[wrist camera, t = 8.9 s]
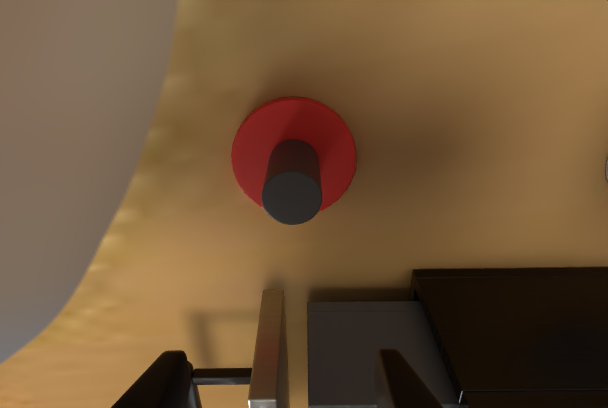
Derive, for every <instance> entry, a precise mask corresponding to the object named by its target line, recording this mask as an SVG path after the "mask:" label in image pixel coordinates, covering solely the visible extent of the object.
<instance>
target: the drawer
mask: <svg viewBox="0 0 608 408" xmlns="http://www.w3.org/2000/svg"><path fill="white" fill-rule="evenodd" d="M307 326H308V408H378V407H377V399H376V391H375V381H374V373H375V364H376V356H377V351H378V350H379V349H381V348H394V349H397V350H398V351H399V352H400V353H401V354H402V356H403V357H404V358H405V359H406V361H407V362H408V363H409V364H410V366H411V367H412V368H413V370H414V371H415V372H416V373H417V375H418V376H419V377H420V378H421V380H422V381H423V382H424V384H425V385H426V386H427V387H428V389H429V390H430V391H431V392H432V394H433V395H434V396H435V397H436V399H437V400H438V401H439V403H440V404H441V405H442V406H443V408H458V407H459V404H460V403H459V402H458V399H457V397H456V394H455V391H454V389H453V386H452V384H451V381H450V378H449V376H448V373H447V371H446V368H445V365H444V363H443V360H442V358H441V355H440V352H439V350H438V347H437V345H436V342H435V339H434V337H433V334H432V332H431V329H430V326H429V324H428V321H427V319H426V316H425V313H424V311H423V308H422V306H421V303H420V301H371V302H308V303H307ZM188 366H189V370H190V375H191V386H190V392H189V397H188V403H187V408H202V405H201V401H200V396H199V392H198V387H197V385H240V384H250V389H249V396H248V403H249V408H290V403H289V382H288V361H287V341H286V320H285V299H284V290H263V295H262V302H261V309H260V316H259V324H258V331H257V338H256V345H255V353H254V360H253V367H252V368H212V369H195V370H194V369H193V366H192V364H191V363H190V362H189V361H188Z"/></svg>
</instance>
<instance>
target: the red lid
mask: <svg viewBox="0 0 608 408" xmlns="http://www.w3.org/2000/svg"><path fill="white" fill-rule="evenodd" d="M232 167H233V171H234V174H235V177H236V180H237V182H238V184H239V185H240V187H241V188H242V190H243V191H244V193H245V194H246V195H247V196H248V197H249V198H250V199H251V200H252V201H253V202H255V203H256V204H257V205H259V206H260V207H262V208H264V209H265V211H266V212H267V213H268V214H269V216H271V217H272V218H273V219H274V220H276V221H278V222H280V223H283V224H288V225H297V224H301V223H304V222H307V221H309V220H310V219H312V218H313V217H314V216H315V215H316V214H317V213H318V212H319V211H321V210H323V209H325V208H327V207H329V206H330V205H332V204H333V203H334V202H336V201H337V200H338V199H339V198H340V197H341V196H342V195H343V194H344V192H345V191H346V190H347V188H348V186H349V185H350V183H351V181H352V178H353V176H354V172H355V168H356V149H355V144H354V141H353V138H352V135H351V133H350V131H349V128H348V127H347V125H346V124H345V122H344V121H343V120H342V119H341V117H340V116H339V115H338V114H337V113H336V112H334V111H333V110H332V109H330V108H329V107H327V106H326V105H324V104H322V103H320V102H318V101H315V100H312V99H308V98H303V97H284V98H279V99H275V100H272V101H269V102H267V103H265V104H263V105H261V106H260V107H258V108H257V109H255V110H254V111H253V112H252V113H251V114H250V115H249V116H248V117H247V118H246V119H245V120H244V122H243V123H242V125H241V126H240V128H239V130H238V132H237V134H236V137H235V139H234V143H233V147H232Z"/></svg>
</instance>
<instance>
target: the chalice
mask: <svg viewBox="0 0 608 408" xmlns="http://www.w3.org/2000/svg"><path fill="white" fill-rule="evenodd" d="M606 177H607V180H608V159H607V164H606Z"/></svg>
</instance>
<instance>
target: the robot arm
mask: <svg viewBox="0 0 608 408" xmlns="http://www.w3.org/2000/svg"><path fill="white" fill-rule="evenodd" d="M374 381H375V391H376V399H377V407H378V408H443V406H442V405H441V404H440V403H439V401H438V400H437V399H436V397H435V396H434V395H433V394H432V392H431V391H430V390H429V389H428V387H427V386H426V385H425V384H424V382H423V381H422V380H421V378H420V377H419V376H418V375H417V373H416V372H415V371H414V370H413V368H412V367H411V366H410V364H409V363H408V362H407V361H406V359H405V358H404V357H403V356H402V354H401V353H400V352H399V351H398V350H397V349H394V348H381V349H379V350H378V351H377V356H376V364H375V373H374ZM190 386H191V375H190V370H189V366H188V361H187V357H186V354H185V352H184V351H181V350H176V351H165V352H164V353H162V354H161V355H160V356H159V357H158V358H157V360H156V361H155V362H154V363H153V364H152V365H151V366H150V367H149V368H148V369H147V370H146V371H145V372H144V373H143V374H142V375H141V376H140V377H139V379H138V380H137V381H136V382H135V383H134V384H133V385H132V386H131V387H130V388H129V389H128V390H127V391H126V392H125V393H124V394H123V395H122V397H121V398H120V399H119V400H118V401H117V402H116V403H115V404H114V405H113V406H112V407H111V408H187V403H188V397H189V392H190Z"/></svg>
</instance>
